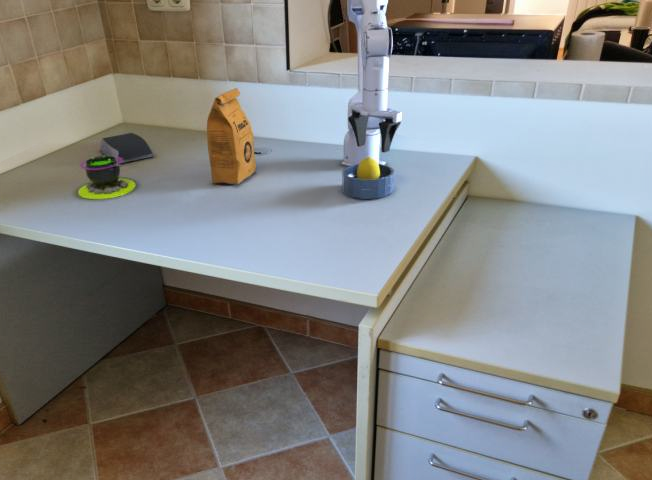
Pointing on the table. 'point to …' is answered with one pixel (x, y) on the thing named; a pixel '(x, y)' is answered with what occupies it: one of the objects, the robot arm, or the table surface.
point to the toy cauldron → (104, 178)
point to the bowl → (367, 183)
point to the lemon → (368, 169)
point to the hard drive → (126, 147)
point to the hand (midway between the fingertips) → (373, 148)
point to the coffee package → (229, 140)
